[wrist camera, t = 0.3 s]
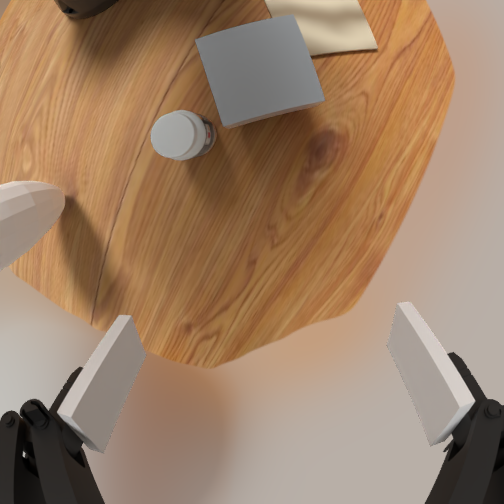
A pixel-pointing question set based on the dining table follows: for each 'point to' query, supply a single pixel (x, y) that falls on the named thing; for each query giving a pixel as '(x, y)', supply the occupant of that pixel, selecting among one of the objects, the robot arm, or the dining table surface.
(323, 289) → the dining table surface
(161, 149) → the pill bottle
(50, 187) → the cup
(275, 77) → the grey cover
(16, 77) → the dining table surface
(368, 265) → the dining table surface
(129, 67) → the dining table surface
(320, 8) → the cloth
